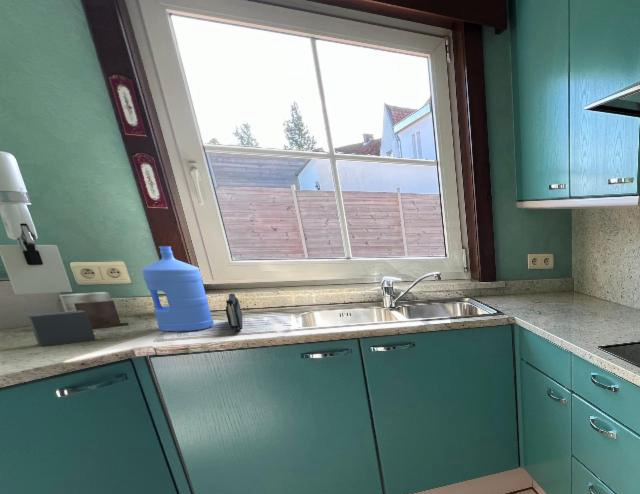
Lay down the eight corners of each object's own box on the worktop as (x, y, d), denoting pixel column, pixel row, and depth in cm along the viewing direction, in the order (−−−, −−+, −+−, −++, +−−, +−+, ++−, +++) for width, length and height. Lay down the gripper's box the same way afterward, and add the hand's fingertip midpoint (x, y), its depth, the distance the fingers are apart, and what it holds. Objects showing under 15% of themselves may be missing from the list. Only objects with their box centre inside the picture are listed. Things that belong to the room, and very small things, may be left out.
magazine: (227, 296, 191) (218, 280, 166) (237, 295, 193) (230, 280, 168) (237, 340, 194) (230, 331, 168) (247, 339, 195) (241, 330, 170)
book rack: (75, 330, 168) (63, 298, 164) (65, 326, 174) (54, 294, 170) (128, 325, 179) (118, 294, 175) (117, 321, 185) (107, 291, 181)
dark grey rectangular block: (42, 346, 148) (30, 316, 144) (38, 344, 150) (26, 314, 146) (96, 340, 157) (86, 311, 154) (91, 338, 159) (81, 310, 156)
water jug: (215, 322, 188) (195, 245, 177) (213, 330, 176) (191, 247, 165) (162, 325, 180) (138, 245, 169) (156, 333, 167) (130, 247, 157)
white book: (16, 294, 147) (-3, 245, 142) (15, 293, 148) (-4, 245, 143) (72, 291, 156) (56, 245, 151) (70, 290, 157) (55, 245, 152)
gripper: (-15, 197, 143) (10, 262, 150) (-4, 197, 135) (22, 267, 142) (23, 199, 149) (45, 262, 156) (36, 199, 141) (59, 266, 148)
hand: (34, 264), depth 149 cm, fingers closed on white book, 2 cm apart
